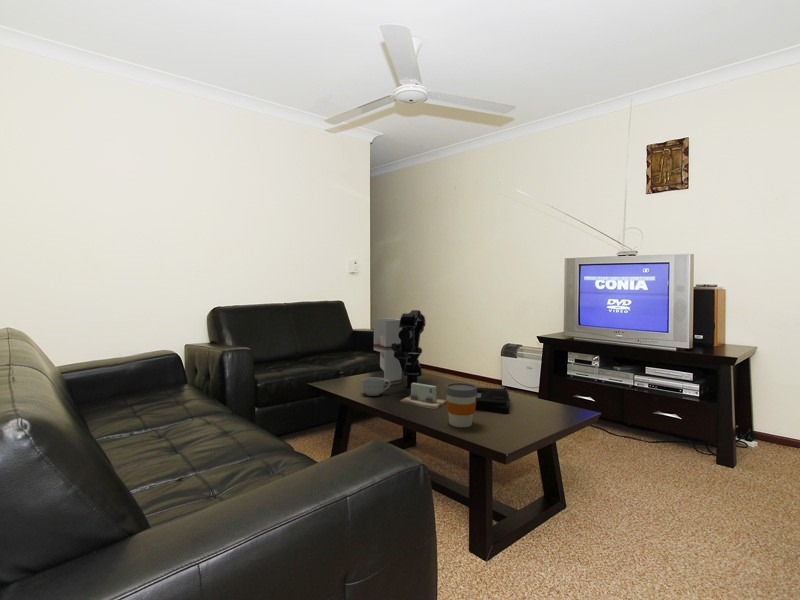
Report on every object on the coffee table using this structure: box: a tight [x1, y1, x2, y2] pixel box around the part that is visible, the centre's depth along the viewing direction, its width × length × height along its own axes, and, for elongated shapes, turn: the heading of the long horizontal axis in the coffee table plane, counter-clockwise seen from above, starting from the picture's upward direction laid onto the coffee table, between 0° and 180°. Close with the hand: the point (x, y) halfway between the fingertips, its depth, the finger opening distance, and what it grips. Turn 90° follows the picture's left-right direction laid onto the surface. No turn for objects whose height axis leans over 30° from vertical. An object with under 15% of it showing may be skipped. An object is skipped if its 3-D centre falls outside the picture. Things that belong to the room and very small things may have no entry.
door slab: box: [410, 382, 437, 402], centre depth 203 cm, size 3×12×7 cm, turn 59°
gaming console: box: [475, 386, 510, 415], centre depth 203 cm, size 27×20×7 cm
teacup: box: [362, 376, 392, 397], centre depth 216 cm, size 14×11×8 cm
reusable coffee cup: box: [445, 382, 477, 428], centre depth 175 cm, size 13×12×15 cm
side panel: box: [399, 394, 446, 410], centre depth 204 cm, size 12×18×3 cm, turn 59°
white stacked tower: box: [373, 317, 403, 387], centre depth 241 cm, size 11×11×35 cm
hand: (408, 369), depth 220 cm, fingers open, 9 cm apart
